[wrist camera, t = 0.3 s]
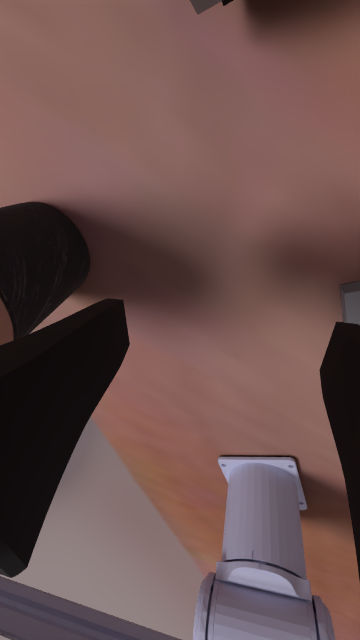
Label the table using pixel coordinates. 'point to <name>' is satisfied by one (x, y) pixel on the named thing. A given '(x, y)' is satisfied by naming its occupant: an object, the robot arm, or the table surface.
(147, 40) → the table surface
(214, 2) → the game console
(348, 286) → the fader panel
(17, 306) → the travel mug
